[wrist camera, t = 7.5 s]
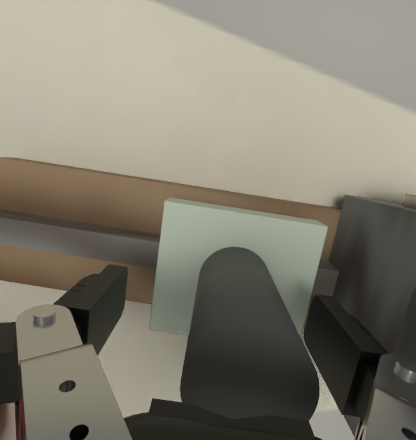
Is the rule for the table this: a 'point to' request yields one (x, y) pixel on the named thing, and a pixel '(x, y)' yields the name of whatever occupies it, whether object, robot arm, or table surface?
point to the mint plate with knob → (239, 306)
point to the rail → (161, 190)
